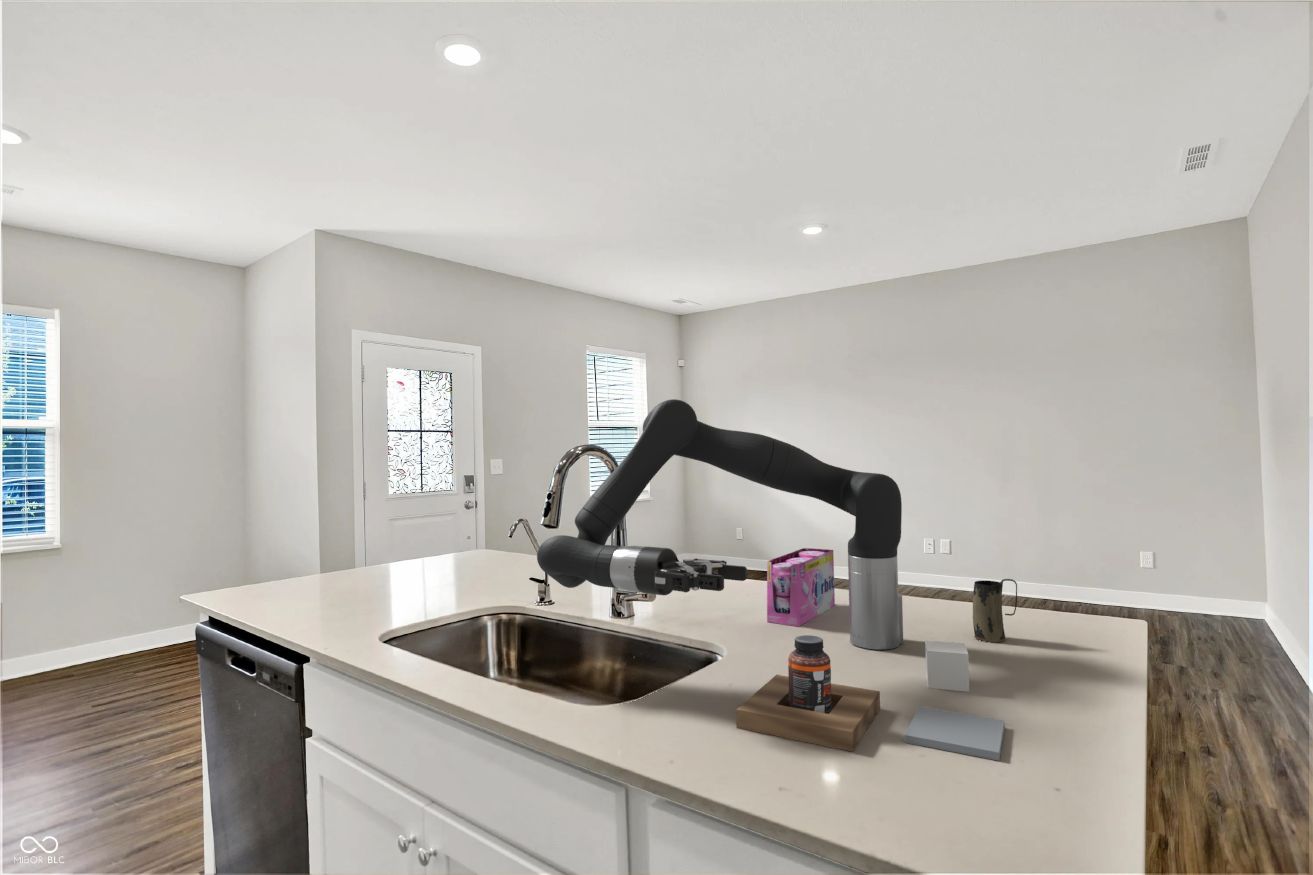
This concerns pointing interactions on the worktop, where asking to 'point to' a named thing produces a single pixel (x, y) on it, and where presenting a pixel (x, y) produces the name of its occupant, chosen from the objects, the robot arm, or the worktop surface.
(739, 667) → the worktop surface
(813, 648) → the supplement bottle
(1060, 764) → the worktop surface
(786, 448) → the robot arm
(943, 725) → the slate pad
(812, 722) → the socket block
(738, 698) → the worktop surface
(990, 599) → the mug
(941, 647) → the white cube
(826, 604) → the gum box
